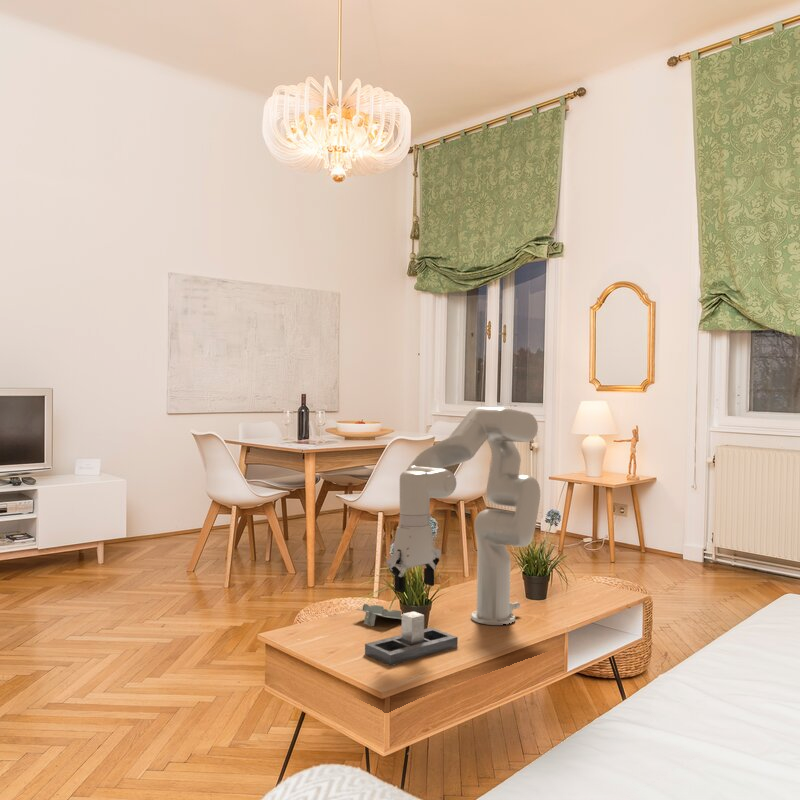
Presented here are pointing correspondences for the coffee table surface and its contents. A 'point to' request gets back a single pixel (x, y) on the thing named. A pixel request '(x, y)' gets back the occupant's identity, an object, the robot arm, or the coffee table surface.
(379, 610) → the metal bracket
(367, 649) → the compartment tray
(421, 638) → the steel peg
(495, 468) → the robot arm
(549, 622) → the coffee table surface
